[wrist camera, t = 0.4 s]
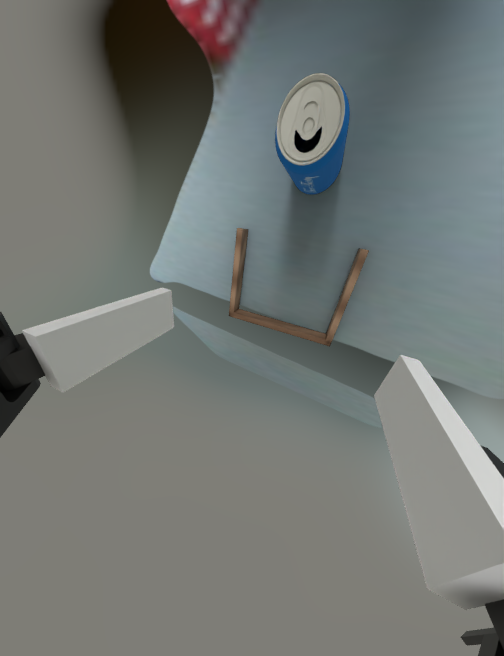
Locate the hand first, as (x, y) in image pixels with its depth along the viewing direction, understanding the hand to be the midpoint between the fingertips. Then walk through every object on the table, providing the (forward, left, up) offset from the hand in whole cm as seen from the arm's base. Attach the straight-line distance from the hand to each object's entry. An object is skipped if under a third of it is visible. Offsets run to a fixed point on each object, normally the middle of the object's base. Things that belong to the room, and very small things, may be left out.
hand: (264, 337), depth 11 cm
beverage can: (-14, -3, -25) cm, 29 cm away
